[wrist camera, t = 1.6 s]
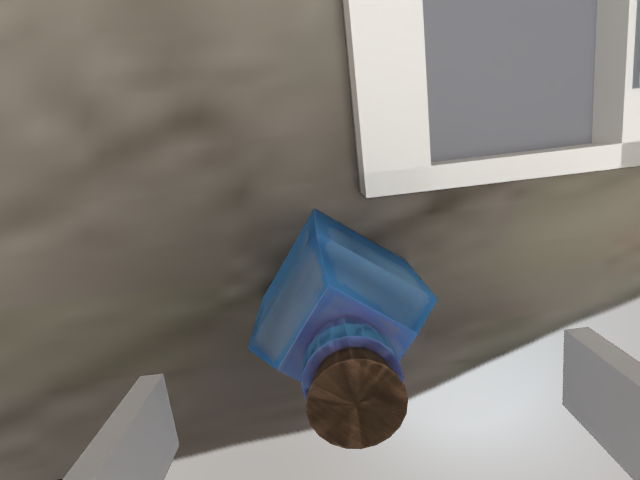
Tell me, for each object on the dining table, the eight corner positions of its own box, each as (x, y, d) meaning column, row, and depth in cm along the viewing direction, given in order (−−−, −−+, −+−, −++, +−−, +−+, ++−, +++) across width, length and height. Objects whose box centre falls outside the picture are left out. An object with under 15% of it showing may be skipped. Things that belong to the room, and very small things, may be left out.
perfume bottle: (405, 260, 24) (495, 369, 13) (351, 344, 25) (388, 516, 14) (314, 208, 23) (320, 274, 12) (262, 298, 24) (220, 439, 13)
